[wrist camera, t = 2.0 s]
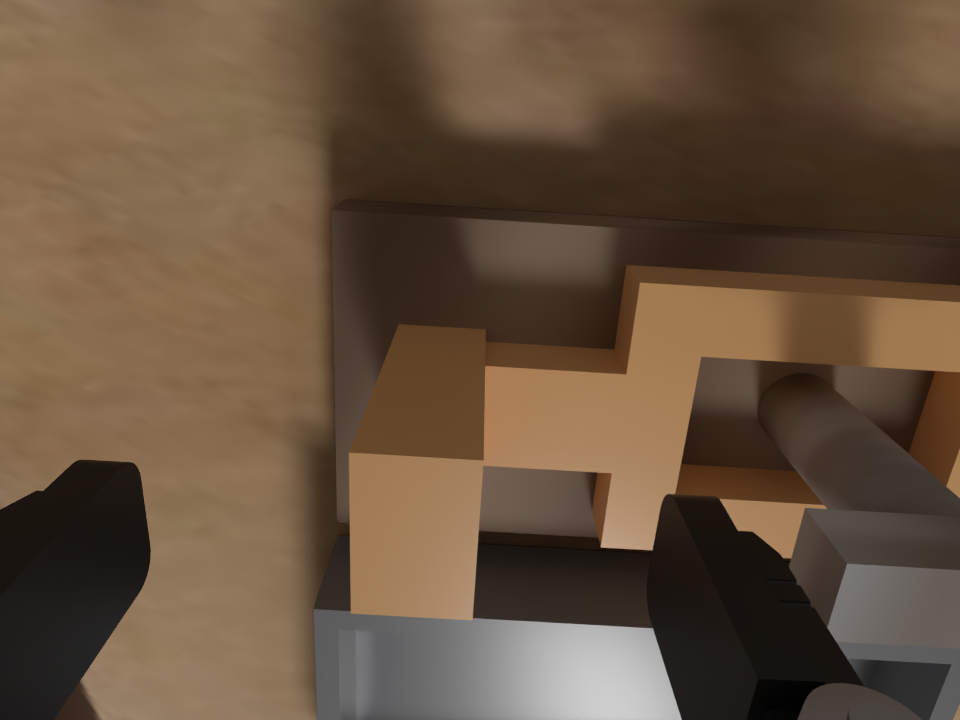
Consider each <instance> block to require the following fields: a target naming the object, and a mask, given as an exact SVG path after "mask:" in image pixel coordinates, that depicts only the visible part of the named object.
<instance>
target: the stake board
mask: <svg viewBox="0 0 960 720" xmlns="http://www.w3.org/2000/svg"><path fill="white" fill-rule="evenodd" d="M331 234H332V286H333V337H334V389H335V441H336V493H337V523H350V502H349V451H350V449H351V446H352V443H353V441H354V438H355V436H356V433H357V431H358V428H359V425H360V423H361V420H362V418H363V415H364V412H365V410H366V407H367V405H368V402H369V400H370V397H371V394H372V392H373V389H374V387H375V384H376V381H377V379H378V376H379V374H380V371H381V369H382V366H383V363H384V361H385V358H386V356H387V353H388V350H389V348H390V345H391V343H392V340H393V338H394V335H395V332H396V330H397V327H398V325H399V324H405V325H421V326H438V327H454V328H471V329H486V342H498V343H515V344H531V345H548V346H564V347H581V348H597V349H615V342H616V335H617V328H618V321H619V314H620V306H621V299H622V292H623V285H624V278H625V271H626V265H637V266H653V267H669V268H685V269H702V270H718V271H734V272H750V273H766V274H783V275H799V276H815V277H831V278H847V279H864V280H880V281H896V282H912V283H929V284H945V285H960V238H953V237H937V236H921V235H904V234H888V233H872V232H856V231H840V230H824V229H808V228H792V227H776V226H760V225H744V224H728V223H712V222H696V221H680V220H664V219H648V218H632V217H616V216H600V215H584V214H568V213H551V212H535V211H519V210H503V209H487V208H471V207H455V206H439V205H423V204H407V203H391V202H375V201H359V200H343V201H342V202H341V203H340V204H338V205H337V206H336V207H334V208H333V209H332V210H331ZM934 374H935V371H929V370H912V369H896V368H879V367H863V366H846V365H830V364H813V363H797V362H780V361H763V360H747V359H730V358H714V357H701V361H700V366H699V372H698V377H697V382H696V387H695V393H694V398H693V403H692V408H691V414H690V419H689V424H688V430H687V435H686V440H685V445H684V451H683V456H682V461H681V464H686V465H703V466H720V467H737V468H754V469H771V470H788V471H797V472H798V473H799V475H800V476H801V477H802V478H803V480H804V481H805V482H806V483H807V485H808V486H809V487H810V488H811V489H812V491H813V492H814V493H815V494H816V496H817V497H818V498H819V499H820V501H821V502H822V503H823V504H824V506H825V507H826V508H827V509H818V508H805V510H804V513H803V517H802V521H801V524H800V528H799V532H798V535H797V539H796V543H795V546H794V550H793V554H792V558H791V561H790V565H789V568H790V570H791V572H792V573H793V575H794V576H795V578H796V579H797V585H800V586H801V587H802V589H803V590H804V592H805V594H806V595H807V597H808V598H809V600H810V601H811V607H814V608H815V609H816V611H817V612H818V614H819V615H820V617H821V619H822V620H823V622H824V623H825V625H826V626H827V628H828V630H829V631H830V633H831V634H832V636H833V637H834V639H835V641H836V642H849V643H867V644H885V645H902V646H920V647H938V648H955V649H960V498H959V497H958V496H957V495H955V494H954V493H953V492H952V491H951V490H950V489H949V488H947V487H946V486H945V485H944V484H943V483H942V482H941V481H939V480H938V479H937V478H936V477H935V476H934V475H933V474H931V473H930V472H929V471H928V470H927V469H926V468H924V467H923V466H922V465H921V464H920V463H919V462H918V461H916V460H915V459H914V458H913V457H912V456H911V455H910V454H909V451H910V448H911V444H912V441H913V438H914V435H915V432H916V429H917V426H918V423H919V420H920V417H921V414H922V411H923V408H924V405H925V402H926V398H927V395H928V392H929V389H930V386H931V383H932V380H933V377H934ZM596 478H597V472H581V471H564V470H547V469H530V468H513V467H496V466H483V478H482V492H481V506H480V520H479V531H489V532H506V533H523V534H541V535H558V536H575V537H593V538H598V534H597V530H596V526H595V522H594V518H593V514H592V507H593V500H594V492H595V485H596Z"/></svg>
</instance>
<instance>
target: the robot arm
mask: <svg viewBox="0 0 960 720" xmlns="http://www.w3.org/2000/svg"><path fill="white" fill-rule="evenodd" d="M150 552H151V550H150V541H149V533H148V526H147V519H146V511H145V504H144V497H143V489H142V482H141V476H140V472H139V470H138V468H137V466H136V465H135V464H134V463H131V462H115V461H97V460H78V461H76V462H74V463H73V464H72V465H71V466H70V467H69V468H67V469H66V470H65V471H64V472H63V473H62V474H61V475H60V476H59V477H58V478H57V479H56V480H55V481H54V482H52V483H51V484H50V485H49V486H48V487H47V488H46V489H45V490H44V491H35V492H33V493H31V494H29V495H27V496H26V497H24V498H22V499H20V500H18V501H16V502H14V503H12V504H10V505H8V506H6V507H4V508H3V509H1V510H0V720H54V719H55V717H56V716H57V714H58V713H59V711H60V710H61V708H62V707H63V705H64V704H65V702H66V701H67V699H68V698H69V696H70V695H71V693H72V692H73V690H74V689H75V687H76V686H77V685H78V683H79V682H80V680H81V679H82V677H83V676H84V674H85V673H86V671H87V670H88V668H89V667H90V665H91V664H92V662H93V661H94V659H95V658H96V656H97V655H98V653H99V652H100V650H101V649H102V647H103V646H104V644H105V643H106V641H107V640H108V638H109V637H110V635H111V634H112V632H113V631H114V629H115V628H116V626H117V625H118V623H119V622H120V620H121V619H122V617H123V616H124V615H125V613H126V612H127V610H128V609H129V607H130V606H131V604H132V603H133V601H134V600H135V598H136V597H137V595H138V594H139V592H140V590H141V589H142V587H143V585H144V582H145V580H146V577H147V573H148V569H149V564H150ZM647 606H648V613H649V617H650V621H651V624H652V627H653V630H654V634H655V637H656V640H657V643H658V646H659V649H660V653H661V656H662V659H663V662H664V665H665V668H666V672H667V675H668V678H669V681H670V684H671V687H672V690H673V694H674V697H675V700H676V703H677V706H678V709H679V713H680V716H681V719H682V720H922V719H921V718H920V717H919V716H917V715H916V714H915V713H914V712H912V711H911V710H910V709H908V708H907V707H905V706H904V705H902V704H901V703H899V702H898V701H896V700H894V699H892V698H890V697H888V696H886V695H884V694H882V693H880V692H877V691H875V690H872V689H869V688H866V687H865V686H864V684H863V683H862V681H861V680H860V678H859V677H858V675H857V673H856V672H855V670H854V669H853V667H852V666H851V664H850V663H849V661H848V659H847V658H846V656H845V655H844V653H843V652H842V650H841V648H840V647H839V645H838V644H837V642H836V641H835V639H834V637H833V636H832V634H831V633H830V631H829V630H828V628H827V626H826V625H825V623H824V622H823V620H822V619H821V617H820V615H819V614H818V612H817V611H816V609H815V608H814V607H811V601H810V600H809V598H808V597H807V595H806V594H805V592H804V590H803V589H802V587H801V586H800V585H797V579H796V578H795V576H794V575H793V573H792V572H791V570H790V568H789V567H788V565H787V564H786V562H785V561H784V559H783V557H782V556H781V554H779V553H778V552H777V551H776V550H775V549H773V548H772V547H771V546H770V545H769V544H767V543H766V542H765V541H764V540H762V539H761V538H760V537H759V536H758V535H756V534H755V533H754V532H751V531H738V530H737V528H736V526H735V525H734V523H733V521H732V519H731V518H730V516H729V514H728V513H727V511H726V509H725V507H724V506H723V504H722V502H721V501H720V499H719V498H718V497H715V496H698V495H680V494H667V495H666V496H665V497H664V499H663V501H662V504H661V508H660V513H659V519H658V524H657V529H656V534H655V540H654V545H653V550H652V555H651V561H650V566H649V571H648V577H647Z"/></svg>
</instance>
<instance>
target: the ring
mask: <svg viewBox="0 0 960 720" xmlns="http://www.w3.org/2000/svg"><path fill="white" fill-rule="evenodd" d="M701 357H714V358H730V359H747V360H763V361H780V362H797V363H813V364H830V365H846V366H863V367H879V368H896V369H912V370H929V371H935V374H934V377H933V380H932V383H931V386H930V389H929V392H928V395H927V398H926V402H925V405H924V408H923V411H922V414H921V417H920V420H919V423H918V426H917V429H916V432H915V435H914V438H913V441H912V444H911V448H910V451H909V454H910V455H911V456H912V457H913V458H914V459H915V460H916V461H918V462H919V463H920V464H921V465H922V466H923V467H924V468H926V469H927V470H928V471H929V472H930V473H931V474H933V475H934V476H935V477H936V478H937V479H938V480H939V481H941V482H942V483H943V484H944V485H945V486H946V487H947V488H949V489H950V490H951V491H952V492H953V493H954V494H955V495H957V496H958V497H959V498H960V285H945V284H929V283H912V282H896V281H880V280H864V279H847V278H831V277H815V276H799V275H783V274H766V273H750V272H734V271H718V270H702V269H685V268H669V267H653V266H637V265H626V271H625V278H624V285H623V292H622V299H621V306H620V314H619V321H618V328H617V335H616V342H615V349H597V348H581V347H564V346H548V345H531V344H515V343H498V342H486V329H471V328H454V327H438V326H421V325H405V324H399V325H398V327H397V330H396V332H395V335H394V338H393V340H392V343H391V345H390V348H389V350H388V353H387V356H386V358H385V361H384V363H383V366H382V369H381V371H380V374H379V376H378V379H377V381H376V384H375V387H374V389H373V392H372V394H371V397H370V400H369V402H368V405H367V407H366V410H365V412H364V415H363V418H362V420H361V423H360V425H359V428H358V431H357V433H356V436H355V438H354V441H353V443H352V446H351V449H350V451H349V502H350V590H351V614H368V615H385V616H403V617H421V618H438V619H456V620H473V606H474V592H475V577H476V563H477V549H478V535H479V520H480V506H481V492H482V478H483V466H496V467H513V468H530V469H547V470H564V471H581V472H597V478H596V485H595V492H594V500H593V507H592V514H593V518H594V522H595V526H596V530H597V534H598V538H599V542H600V547H602V548H619V549H636V550H653V545H654V540H655V534H656V529H657V524H658V519H659V513H660V508H661V504H662V501H663V499H664V497H665V496H666V495H667V494H680V495H698V496H715V497H718V498H719V499H720V501H721V502H722V504H723V506H724V507H725V509H726V511H727V513H728V514H729V516H730V518H731V519H732V521H733V523H734V525H735V526H736V528H737V530H738V531H751V532H754V533H755V534H756V535H758V536H759V537H760V538H761V539H762V540H764V541H765V542H766V543H767V544H769V545H770V546H771V547H772V548H773V549H775V550H776V551H777V552H778V553H779V554H781V556H782V557H783V558H792V554H793V550H794V546H795V543H796V539H797V535H798V532H799V528H800V524H801V521H802V517H803V513H804V510H805V508H818V509H827V508H826V507H825V506H824V504H823V503H822V502H821V501H820V499H819V498H818V497H817V496H816V494H815V493H814V492H813V491H812V489H811V488H810V487H809V486H808V485H807V483H806V482H805V481H804V480H803V478H802V477H801V476H800V475H799V473H798V472H797V471H788V470H771V469H754V468H737V467H720V466H703V465H686V464H681V461H682V456H683V451H684V445H685V440H686V435H687V430H688V424H689V419H690V414H691V408H692V403H693V398H694V393H695V387H696V382H697V377H698V372H699V366H700V361H701Z"/></svg>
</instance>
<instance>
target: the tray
mask: <svg viewBox="0 0 960 720" xmlns="http://www.w3.org/2000/svg"><path fill="white" fill-rule="evenodd" d="M651 555H652V554H648V553H631V552H614V551H596V550H579V549H562V548H544V547H527V546H510V545H492V544H478V549H477V563H476V577H475V592H474V606H473V620H456V619H438V618H421V617H403V616H385V615H368V614H351V590H350V536H338V538H337V541H336V544H335V547H334V550H333V553H332V555H331V558H330V561H329V564H328V567H327V570H326V573H325V576H324V579H323V582H322V585H321V588H320V591H319V594H318V597H317V600H316V603H315V606H314V609H313V615H314V643H315V670H316V698H317V720H682V719H681V716H680V713H679V709H678V706H677V703H676V700H675V697H674V694H673V690H672V687H671V684H670V681H669V678H668V675H667V672H666V668H665V665H664V662H663V659H662V656H661V653H660V649H659V646H658V643H657V640H656V637H655V634H654V630H653V627H652V624H651V621H650V617H649V613H648V606H647V577H648V571H649V566H650V561H651ZM785 562H786V564H787V565H788V567H789V565H790V562H787V561H785ZM837 644H838V645H839V647H840V648H841V650H842V652H843V653H844V655H845V656H846V658H847V659H848V661H849V663H850V664H851V666H852V667H853V669H854V670H855V672H856V673H857V675H858V677H859V678H860V680H861V681H862V683H863V684H864V686H865V687H866V688H869V689H872V690H875V691H877V692H880V693H882V694H884V695H886V696H888V697H890V698H892V699H894V700H896V701H898V702H899V703H901V704H902V705H904V706H905V707H907V708H908V709H910V710H911V711H912V712H914V713H915V714H916V715H917V716H919V717H920V718H921V719H922V720H953V718H954V715H955V713H956V711H957V708H958V706H959V704H960V649H955V648H938V647H920V646H902V645H885V644H867V643H849V642H837Z"/></svg>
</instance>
